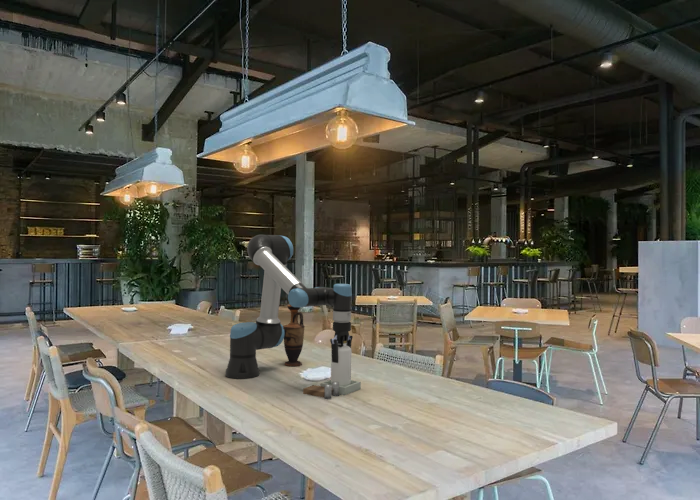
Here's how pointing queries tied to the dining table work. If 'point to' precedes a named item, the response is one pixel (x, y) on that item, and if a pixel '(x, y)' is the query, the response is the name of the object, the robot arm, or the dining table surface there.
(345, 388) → the tray
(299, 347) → the vase
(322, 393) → the tan wooden board
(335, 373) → the potion bottle
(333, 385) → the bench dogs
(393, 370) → the dining table surface
